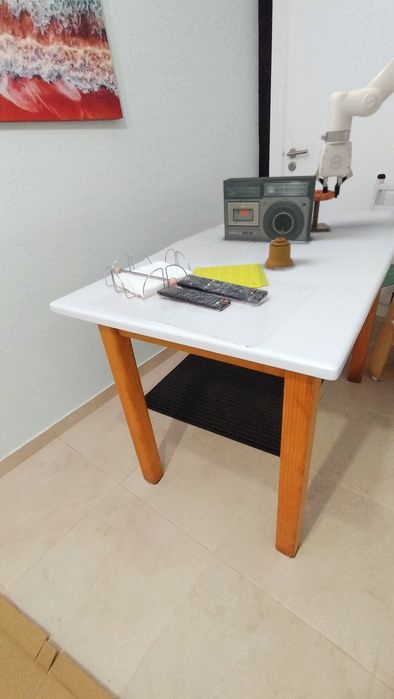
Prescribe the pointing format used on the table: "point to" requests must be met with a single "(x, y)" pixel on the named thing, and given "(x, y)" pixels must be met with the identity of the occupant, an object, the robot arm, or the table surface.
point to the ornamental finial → (279, 254)
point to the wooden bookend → (315, 225)
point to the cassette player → (268, 208)
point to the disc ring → (323, 195)
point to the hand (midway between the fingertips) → (330, 197)
